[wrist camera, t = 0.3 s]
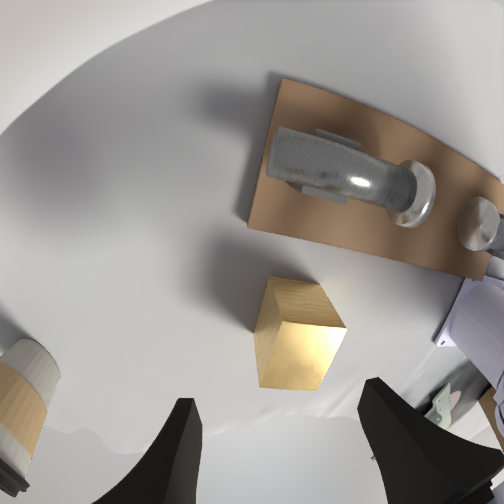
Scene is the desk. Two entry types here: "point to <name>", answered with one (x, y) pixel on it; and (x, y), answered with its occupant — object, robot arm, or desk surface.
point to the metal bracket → (439, 409)
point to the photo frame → (491, 412)
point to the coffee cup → (23, 408)
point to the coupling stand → (374, 186)
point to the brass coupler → (295, 335)
